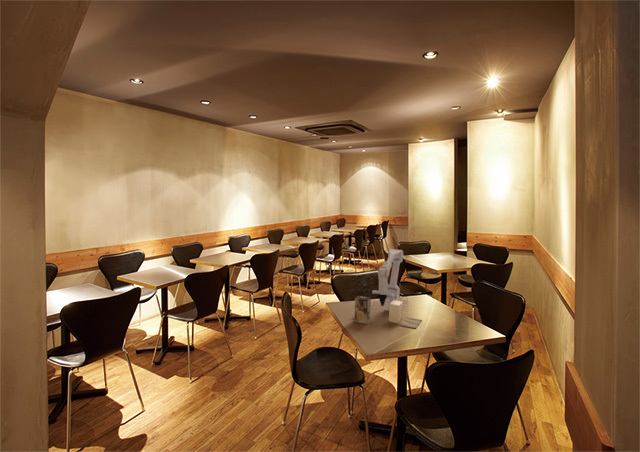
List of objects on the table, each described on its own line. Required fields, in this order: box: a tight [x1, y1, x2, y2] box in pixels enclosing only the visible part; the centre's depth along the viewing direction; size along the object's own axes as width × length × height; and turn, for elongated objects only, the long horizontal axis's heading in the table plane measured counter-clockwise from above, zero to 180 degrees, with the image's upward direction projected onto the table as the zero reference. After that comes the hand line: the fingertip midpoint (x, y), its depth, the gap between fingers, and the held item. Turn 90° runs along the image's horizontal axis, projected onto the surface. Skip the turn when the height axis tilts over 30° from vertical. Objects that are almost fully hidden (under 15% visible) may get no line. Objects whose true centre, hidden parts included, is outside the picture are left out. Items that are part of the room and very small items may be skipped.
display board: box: [397, 316, 423, 330], centre depth 218 cm, size 16×12×1 cm
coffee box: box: [354, 295, 372, 325], centre depth 219 cm, size 9×6×16 cm
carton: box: [388, 300, 404, 324], centre depth 222 cm, size 9×6×12 cm
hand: (382, 305), depth 227 cm, fingers closed
